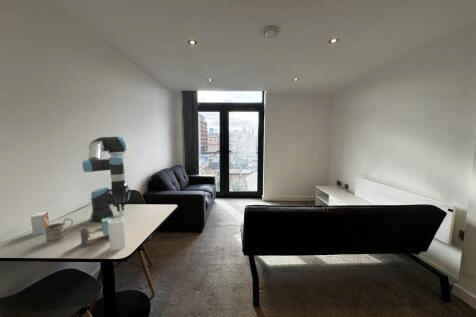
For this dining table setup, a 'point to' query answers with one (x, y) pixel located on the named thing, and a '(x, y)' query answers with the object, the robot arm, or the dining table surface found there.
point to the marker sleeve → (105, 226)
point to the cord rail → (86, 234)
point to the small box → (39, 223)
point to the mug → (55, 233)
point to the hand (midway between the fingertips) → (121, 215)
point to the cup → (117, 233)
